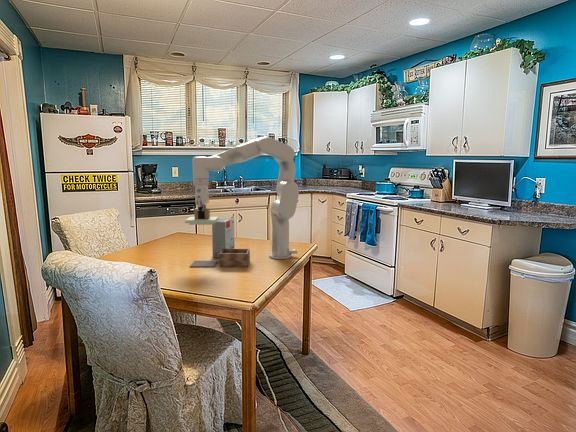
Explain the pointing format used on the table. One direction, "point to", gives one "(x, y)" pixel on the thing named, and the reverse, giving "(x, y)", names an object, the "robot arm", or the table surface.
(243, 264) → the crate
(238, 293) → the table surface
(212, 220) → the lid
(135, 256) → the table surface
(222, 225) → the hard drive box
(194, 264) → the mat
